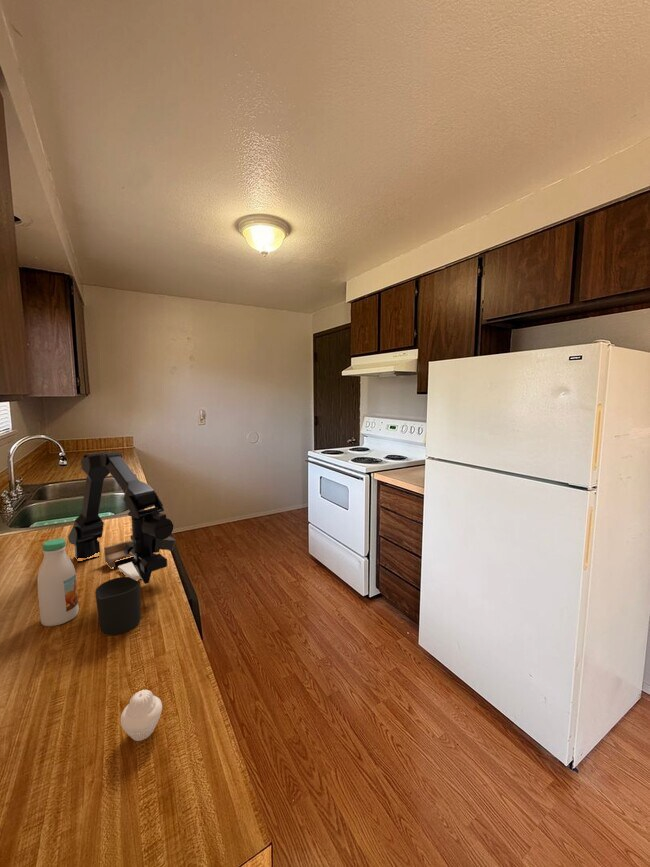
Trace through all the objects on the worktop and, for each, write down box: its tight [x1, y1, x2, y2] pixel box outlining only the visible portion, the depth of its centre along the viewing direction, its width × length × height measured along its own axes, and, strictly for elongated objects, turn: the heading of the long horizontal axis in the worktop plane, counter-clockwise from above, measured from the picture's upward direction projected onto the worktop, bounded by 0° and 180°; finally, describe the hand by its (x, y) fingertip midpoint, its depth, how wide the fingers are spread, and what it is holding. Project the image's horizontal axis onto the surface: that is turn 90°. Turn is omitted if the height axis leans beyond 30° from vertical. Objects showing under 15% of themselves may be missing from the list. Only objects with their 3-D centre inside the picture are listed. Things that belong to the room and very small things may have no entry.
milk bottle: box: [37, 538, 79, 627], centre depth 90 cm, size 8×8×20 cm
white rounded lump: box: [120, 689, 163, 742], centre depth 59 cm, size 6×6×7 cm
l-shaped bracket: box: [103, 539, 133, 568], centre depth 121 cm, size 10×6×6 cm, turn 135°
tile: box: [117, 561, 153, 580], centre depth 114 cm, size 6×12×2 cm, turn 50°
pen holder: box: [94, 576, 142, 636], centre depth 87 cm, size 9×9×10 cm
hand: (146, 582), depth 106 cm, fingers closed
